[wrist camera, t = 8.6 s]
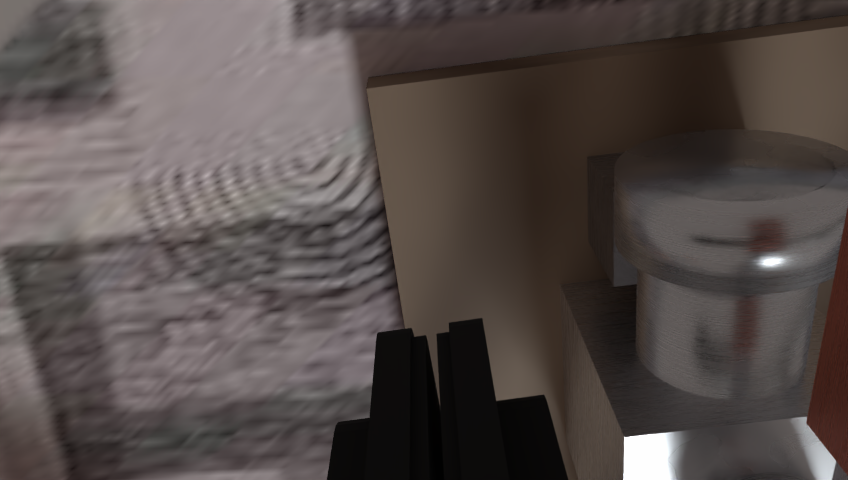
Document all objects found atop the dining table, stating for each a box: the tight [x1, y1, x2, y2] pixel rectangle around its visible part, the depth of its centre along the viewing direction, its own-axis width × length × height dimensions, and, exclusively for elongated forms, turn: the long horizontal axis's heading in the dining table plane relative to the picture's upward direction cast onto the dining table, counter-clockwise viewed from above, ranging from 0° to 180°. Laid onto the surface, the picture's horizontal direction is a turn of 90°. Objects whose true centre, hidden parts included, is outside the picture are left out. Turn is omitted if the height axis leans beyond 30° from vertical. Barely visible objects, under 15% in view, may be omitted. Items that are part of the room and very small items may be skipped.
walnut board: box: [366, 15, 848, 480], centre depth 25 cm, size 18×22×2 cm
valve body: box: [560, 129, 848, 480], centre depth 20 cm, size 7×18×10 cm, turn 7°
